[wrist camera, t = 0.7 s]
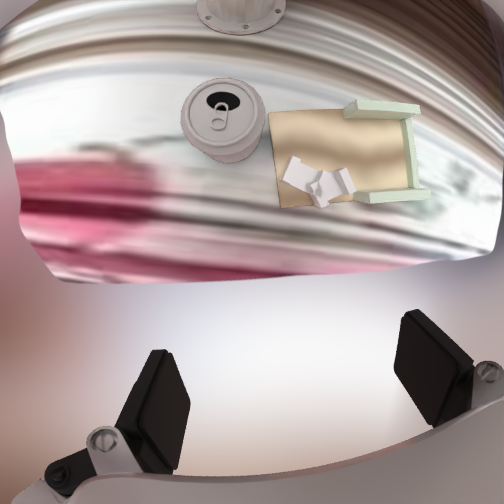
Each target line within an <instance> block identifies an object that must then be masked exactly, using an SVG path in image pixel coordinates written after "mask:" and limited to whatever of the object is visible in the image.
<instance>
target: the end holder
mask: <svg viewBox="0 0 504 504" xmlns="http://www.w3.org/2000/svg"><path fill="white" fill-rule="evenodd" d="M342 112H343V118H361V119H387V120H400V125H401V131H402V138H403V145H404V152H405V161H406V170H407V181H408V187H405V188H387V189H372V190H358V191H356V192H354V193H353V195H354V200H355V201H360V202H365V203H370V204H372V203H383V202H396V201H409V200H423V199H431V195H430V189H422V188H414V187H419V178H418V167H417V157H416V149H415V142H414V135H413V129H412V123H411V119H407V118H410V117H413V116H417V115H420V114H421V112H420V107H419V105H414V104H407V103H398V102H387V101H374V100H355V101H354V102H352V103H351V104H349V105H348V106H347V107H345V108H344V109H342ZM412 187H413V188H412Z"/></svg>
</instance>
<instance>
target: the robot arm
mask: <svg viewBox="0 0 504 504" xmlns="http://www.w3.org/2000/svg"><path fill="white" fill-rule="evenodd" d="M196 9H197V13H198V15H199V18H200V19H201V20H202V22H203V23H204V24H206V25H207V26H208V27H210V28H212V29H214V30H216V31H219V32H222V33H228V34H239V35H241V34H251V33H256V32H260V31H263V30H266V29H268V28H270V27H272V26H273V25H275V24H276V23H277V22H278V21H279V20H280V19H281V18H282V17H283V15H284V13H285V9H286V0H197V4H196ZM473 362H474V360H472V358H471V357H469V355H468V354H467V353H465V352H464V351H463V350H462V349H461V348H460V347H459V346H458V345H457V344H456V343H455V342H454V341H453V340H452V339H450V337H449V336H448V335H447V334H446V333H444V332H443V331H442V330H441V329H440V328H439V327H438V326H437V325H436V324H435V323H434V322H433V321H431V320H430V319H429V318H428V317H427V316H426V315H425V314H424V313H422V312H421V311H420V310H419V309H415V310H412V311H408V312H406V313H405V314H404V317H402V318H401V325H400V332H399V339H398V345H397V351H396V357H395V362H394V372H395V374H396V375H397V377H398V378H399V380H400V381H401V383H402V384H403V386H404V387H405V389H406V390H407V392H408V394H409V395H410V397H411V398H412V400H413V402H414V403H415V405H416V406H417V408H418V409H419V411H420V413H421V414H422V416H423V417H424V419H425V420H426V422H427V424H429V425H432V426H433V429H431V430H429V431H427V432H425V433H422V434H420V435H418V436H415V437H413V438H411V439H408V440H406V441H403V442H401V443H398V444H395V445H393V446H390V447H387V448H384V449H381V450H378V451H375V452H372V453H369V454H366V455H362V456H359V457H355V458H352V459H348V460H344V461H340V462H336V463H332V464H327V465H322V466H318V467H313V468H307V469H302V470H295V471H288V472H280V473H272V474H261V475H249V476H182V475H172V474H173V470H176V469H177V468H178V464H179V459H180V454H181V449H182V444H183V439H184V434H185V429H186V425H187V420H188V415H189V411H190V398H189V396H188V393H187V391H186V388H185V386H184V383H183V381H182V379H181V376H180V373H179V371H178V368H177V365H176V362H175V360H174V357H173V355H172V353H168V351H167V350H166V349H163V350H152V351H151V353H150V355H149V357H148V359H147V361H146V363H145V365H144V367H143V369H142V372H141V373H140V376H139V377H138V380H137V381H136V382H135V384H134V386H133V388H132V390H131V392H130V394H129V396H128V398H127V401H126V402H125V405H124V407H123V409H122V411H121V413H120V415H119V418H118V420H117V422H116V424H115V426H114V427H111V426H102V427H98V428H97V429H95V430H93V431H92V432H91V433H90V434H89V436H88V437H87V441H86V444H87V448H85V449H83V450H81V451H79V452H76V453H74V454H72V455H69V456H67V457H65V458H62V459H60V460H57V461H55V462H53V463H51V464H50V465H49V466H48V467H47V469H46V471H45V475H44V476H45V479H44V480H42V479H41V478H40V479H39V480H37V481H36V482H35V483H33V484H32V485H31V486H29V487H28V488H27V489H25V490H24V491H23V492H21V493H20V494H18V495H17V496H16V497H14V499H13V500H12V502H11V504H504V370H503V368H502V367H501V366H500V365H499V364H497V363H496V362H493V361H483V362H480V363H479V364H477V365H476V367H474V365H473Z"/></svg>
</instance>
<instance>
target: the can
mask: <svg viewBox="0 0 504 504" xmlns="http://www.w3.org/2000/svg"><path fill="white" fill-rule="evenodd" d="M264 122H265V107H264V105H263V102H262V99H261V97H260V96H259V94H258V93H257V92H256V91H255V89H254V88H253V87H251V86H250V85H248V84H246V83H245V82H243V81H240V80H237V79H233V78H216V79H213V80H210V81H207V82H204V83H203V84H201V85H200V86H198V87H197V88H195V89H194V90H193V91H192V92H191V93H190V95H189V96H188V97H187V98H186V100H185V102H184V105H183V107H182V110H181V126H182V129H183V133H184V135H185V136H186V138H187V139H188V140H189V142H190V143H191V144H192V145H193V146H195V147H196V148H198V149H199V150H200V151H202V152H203V153H205V154H207V155H208V156H210V157H211V158H213V159H214V160H217V161H220V162H223V163H234V162H238V161H241V160H243V159H245V158H246V157H248V156H249V155H251V154H252V152H253V151H254V150H255V149H256V147H257V145H258V142H259V140H260V137H261V133H262V129H263V126H264Z"/></svg>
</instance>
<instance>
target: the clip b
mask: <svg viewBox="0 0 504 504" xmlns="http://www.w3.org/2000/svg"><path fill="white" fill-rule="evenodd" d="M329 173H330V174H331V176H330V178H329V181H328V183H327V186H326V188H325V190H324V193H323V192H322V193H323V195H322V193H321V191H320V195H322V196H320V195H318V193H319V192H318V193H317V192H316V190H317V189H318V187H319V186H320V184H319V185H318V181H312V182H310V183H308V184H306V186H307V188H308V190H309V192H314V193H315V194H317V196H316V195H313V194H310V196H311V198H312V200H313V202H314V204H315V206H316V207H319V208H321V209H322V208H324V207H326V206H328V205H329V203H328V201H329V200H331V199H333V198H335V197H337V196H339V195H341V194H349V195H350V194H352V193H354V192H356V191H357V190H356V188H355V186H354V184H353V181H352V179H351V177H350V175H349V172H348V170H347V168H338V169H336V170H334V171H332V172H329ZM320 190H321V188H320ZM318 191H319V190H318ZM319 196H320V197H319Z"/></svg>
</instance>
